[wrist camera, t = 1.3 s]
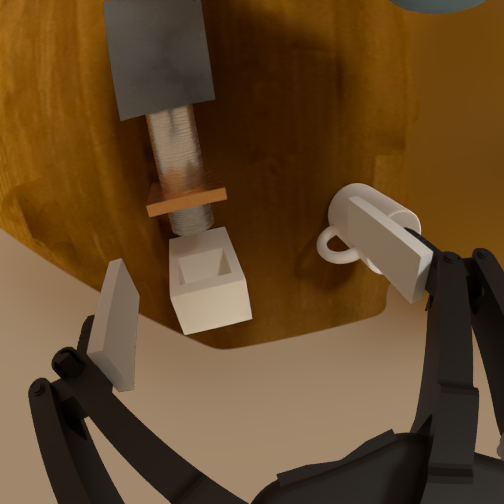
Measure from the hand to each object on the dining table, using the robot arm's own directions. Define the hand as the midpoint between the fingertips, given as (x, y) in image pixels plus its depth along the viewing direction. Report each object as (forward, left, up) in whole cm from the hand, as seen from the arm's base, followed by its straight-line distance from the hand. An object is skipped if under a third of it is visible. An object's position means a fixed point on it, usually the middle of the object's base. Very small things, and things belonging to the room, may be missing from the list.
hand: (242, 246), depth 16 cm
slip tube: (-7, -3, -15) cm, 16 cm away
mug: (+10, +17, -19) cm, 27 cm away
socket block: (+10, -3, -19) cm, 22 cm away
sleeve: (-13, -3, -19) cm, 23 cm away
